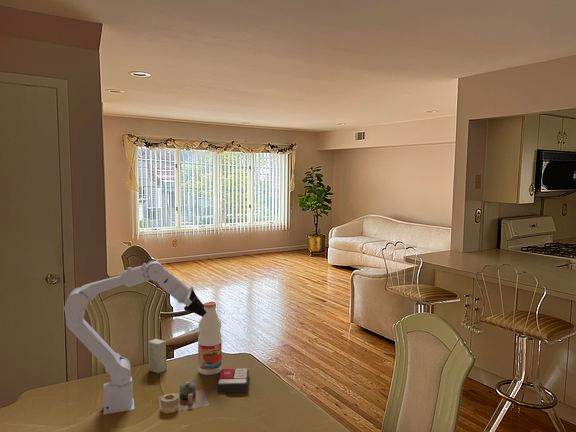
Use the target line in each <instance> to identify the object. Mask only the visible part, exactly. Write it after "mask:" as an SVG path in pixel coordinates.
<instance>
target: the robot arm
mask: <svg viewBox="0 0 576 432" xmlns="http://www.w3.org/2000/svg"><path fill="white" fill-rule="evenodd" d="M148 281H152V282H153V281H154V282H155V283H156V284H157V285H158V286H159V287H160V288H161V289H163V290H164V291H165V292H167V293H168V294H169V295H170V296H171V297H172V298H174V299H175V300H176V301H177V303H179V304H184V305H185V306H184V307H183V310H185V311H186V312H190V313H194V314H195V315H198V316H200V317H201V318H202V317H203V316H204V315H205V314H206V313H207V312H206V311H205V308H204V303H203V302H202V301H201V299H199V297H198V296H197V294H196V293H195V290H194V286H193V285H191V286H190V287H188V286H187V285H186V284H185V283H183V282H182V281H181V280H180V279H179V278H178V277H176V276H175V275H174V274H173V273H172V272H170V271H169V270H167V268H164V266H163V264H161V263H160V262H159V261H157V260H150V261H148V262H147V263H146V262H144V263H142V265H139V266H136V267H132V266H129V267H127V268H126V269H125V270H123V272H122V273H121V274H120V275H118V276H113V277H107V278H105V279H102V280H101V279H100V280H98V281H94V282H89V283H87V284H83V285H82V286H81V287H80V286H79V287H76V288H73V289H72V290H71V291H70V293H69V295H68V297H67V299H66V300H65V303H64V306H63V310H64V314H65V315H64V316H65V324H66V327H67V328H68V329H69V330H70V331H71V333H73V335H74V336H75V337H76V338H77V339H78V340H79V341H80V342H81V343H82V344H83V345H84V346H85V347H86V348H87V349H88V350H89V352H91V354H92V355H93V356H94V357H96V359H97V360H98V361H99V362H100V363H101V364H102V365H103V367H104V369H105V371H106V373H107V375H108V376H109V377H110V378H109V382H105V383H103V385H102V386H103V394H102V395H103V396H102V397H103V400H102V407H103V416H105V415H108V414H115V413H120V412H125V411H131V410H135V400H134V399H135V398H134V397H133V396H134V395H133V377H132V373H131V368H132V365H131V364H132V363H131V361H130V360H129V359H128V358H127V357H124V356H122V355H121V354H119V353H118V352H115V351H114V350H113V349H112V347H110V345H109V344H108V343H107V342H106V341H105V340H104V339H103V338H102V337H101V336H100V334H99V333H98V332H97V331H96V330H95V329H94V328H93V327H92V326H91V325H90V324H89V323H88V322H87V321H86V319H85V312H86V309H87V307H88V305H89V301H93V300H94V299H95V298H96V297H97V296H98V294H100V293H103V292H106V291H108V290H112V289H115V288H117V287H120V286H126V287H128V288H131V287H133V286H136V285H140V284H143V283H146V282H148Z"/></svg>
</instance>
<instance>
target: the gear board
mask: <svg viewBox="0 0 576 432" xmlns="http://www.w3.org/2000/svg"><path fill="white" fill-rule="evenodd" d="M174 394H177V395H178V410H176V411H175V412H176V413H177V412H183V411H188V410H189V411H190V410H192V409H199V408H205V407H209V406H210V403H209V401H208V398H207V396H206V394H205V392H204V389H201V388H200V389H197V385H196V383H195V382H193V381H185V382H183V383H181V384H179V392H175V393H174ZM162 396H163V395H159V396H158V395H157V400H158V405H159V411H160V415H164V414H165V415H166V414H167V413H163V412H161V397H162ZM175 412H174V413H175Z"/></svg>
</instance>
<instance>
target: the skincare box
mask: <svg viewBox="0 0 576 432" xmlns="http://www.w3.org/2000/svg"><path fill="white" fill-rule="evenodd" d="M147 341H148V342H147V344H148V346H147V347H148V349H147V350H148V351H147V352H148V370H149V371H150V372H154V373H156V374H160V373H163V372H165V371H167V364H168V363H167V341H166V340H164V339H158V338H154V339H151V340H147Z"/></svg>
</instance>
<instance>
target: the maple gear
mask: <svg viewBox="0 0 576 432" xmlns="http://www.w3.org/2000/svg"><path fill="white" fill-rule="evenodd" d="M161 396H162V397H161V412H163V413H166V414H172V413H175V411H176V410H178V395H177V394H175V393H173V392H172V393H171V392H169V393H164V394H163V395H161ZM161 412H160V413H161Z"/></svg>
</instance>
